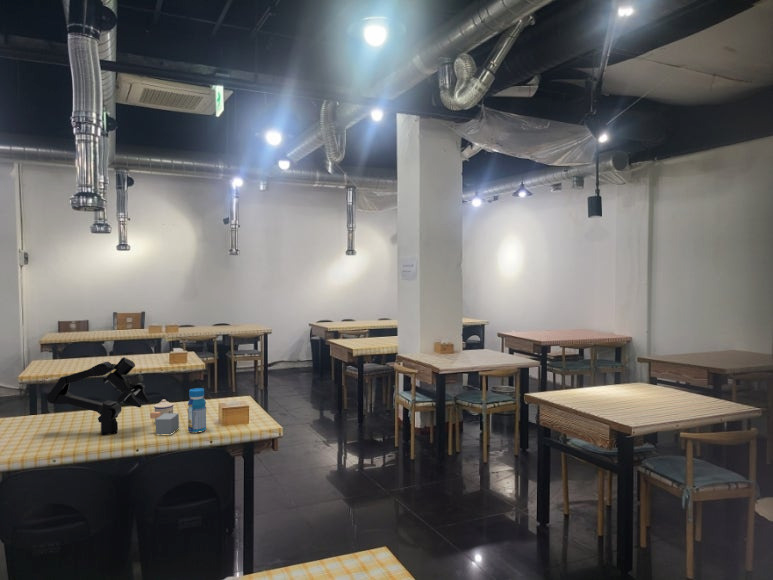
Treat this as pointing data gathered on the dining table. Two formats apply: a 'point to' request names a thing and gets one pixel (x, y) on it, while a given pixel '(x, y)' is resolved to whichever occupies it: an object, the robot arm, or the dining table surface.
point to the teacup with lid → (163, 407)
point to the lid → (163, 417)
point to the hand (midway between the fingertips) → (144, 404)
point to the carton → (167, 425)
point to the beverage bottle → (196, 410)
